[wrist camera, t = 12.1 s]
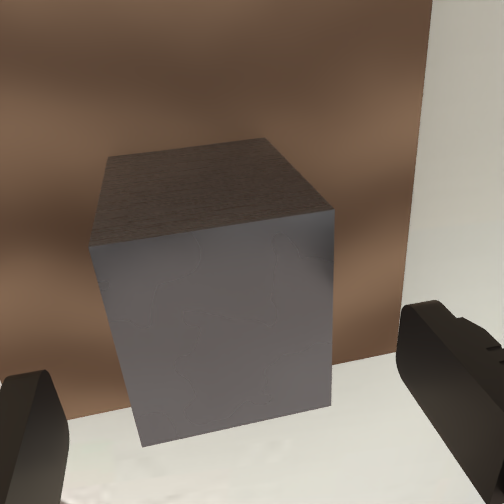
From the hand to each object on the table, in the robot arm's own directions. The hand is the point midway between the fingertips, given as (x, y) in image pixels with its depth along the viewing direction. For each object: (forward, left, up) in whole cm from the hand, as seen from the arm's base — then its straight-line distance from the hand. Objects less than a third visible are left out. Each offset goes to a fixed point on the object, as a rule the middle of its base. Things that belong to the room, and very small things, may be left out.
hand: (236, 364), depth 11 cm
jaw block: (0, 0, -8) cm, 8 cm away
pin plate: (0, 0, -10) cm, 10 cm away
